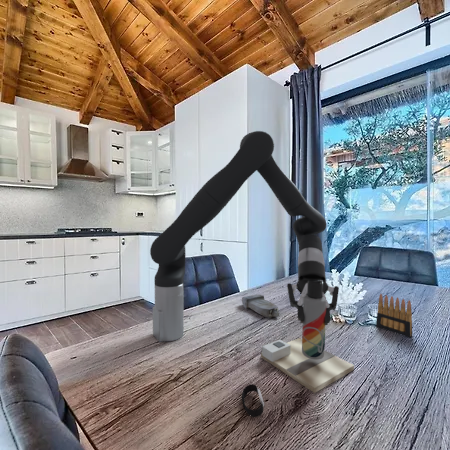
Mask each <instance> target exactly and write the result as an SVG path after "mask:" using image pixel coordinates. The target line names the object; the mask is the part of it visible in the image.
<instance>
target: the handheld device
mask: <svg viewBox="0 0 450 450" xmlns="http://www.w3.org/2000/svg"><path fill="white" fill-rule="evenodd" d="M241 304H242V306H243V308H244V309H246V310H248V309H251V310H252V311H254V312H255V313H257V314H259V315H261V316H262V317H265V318H274V317H275V318H278V317H279V316H280V313H279V307H278V306H277V305H276V304H274V303H273V302H271V301H268V300H266V299H265V296H264V295H262V294H252V295H251V294H250V295H246V296H242V297H241Z"/></svg>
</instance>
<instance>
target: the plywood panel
mask: <svg viewBox="0 0 450 450" xmlns="http://www.w3.org/2000/svg"><path fill="white" fill-rule="evenodd" d="M286 343H287V344H289V345H291V354H289V355H287V356H285V357H282V358H280V359H278V360H276V361H273V362H272V361H270V360H269V359H267V358H266V357H264V356H262V352H260V358H261V359H263V360H265V361H266V362H267V363H269V364H271V365H272V366H273V367H275V368H277V369H278V370H279V371H280V372H282V373H284V374H285V375H286V376H288V377H290V378H291V379H293V380H294V381H295V382H297V383H298V384H300V385H302V386H303V387H305V388H306V389H308V390H309V391H311V392H312V393H313V394H316V393H318V392H319V391H321V390H323V389H324V388H326V387H327V386H329V385H330V384H331V385H332V384H333V383H334V382H336V381H339V379H341V378H343V377H344V376H346V375H347V374H349V373H351V372H353V371H354V370H355V365H354V364H353V363H351V362H348V361H347V360H344V359H343V358H340V357H339V356H337V355H335V354H333V353H331V352H329V351H327V350H325V353H324V357H323V358H322V359H318V360H315V359H310V358H307V357H306V356H304V355H303V353H302V338H299V337H298V338H296V339H293V340H290V341H288V342H286Z"/></svg>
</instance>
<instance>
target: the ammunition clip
mask: <svg viewBox="0 0 450 450" xmlns="http://www.w3.org/2000/svg"><path fill="white" fill-rule="evenodd" d="M412 315H413V312H412V301H411V300H410V299H408V301H407V304H406V301H405V299H404V298H403V299H402V300H401V303H400V298H399V297H396V299H395V301H394V296H392V295H391V297H390V299H389V296H388V295H387V294H386V295H385V296H384V298H383V293H380V294H379V298H378V304H377V312H376V321H375V322H376V325H375V326H376V327H377V328H380V329H383V330H386V331H388V330H389V332H391V331H392V333H394V332H396V333H395V334H397V333H398V334H397V335H400V334H402V335H401V336H403V335H405V336H404V337H406V336H408V337H407V338H411V337H413V321H412V320H413V316H412Z"/></svg>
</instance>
